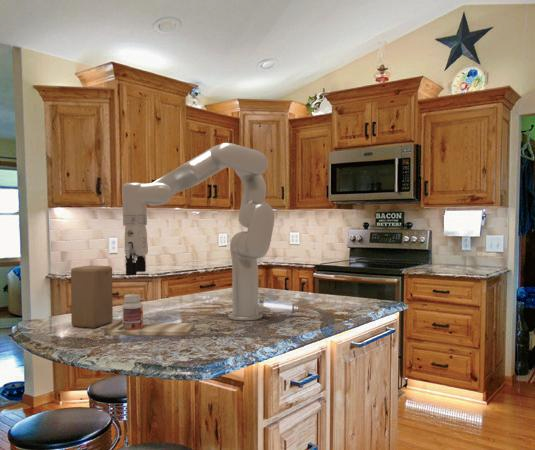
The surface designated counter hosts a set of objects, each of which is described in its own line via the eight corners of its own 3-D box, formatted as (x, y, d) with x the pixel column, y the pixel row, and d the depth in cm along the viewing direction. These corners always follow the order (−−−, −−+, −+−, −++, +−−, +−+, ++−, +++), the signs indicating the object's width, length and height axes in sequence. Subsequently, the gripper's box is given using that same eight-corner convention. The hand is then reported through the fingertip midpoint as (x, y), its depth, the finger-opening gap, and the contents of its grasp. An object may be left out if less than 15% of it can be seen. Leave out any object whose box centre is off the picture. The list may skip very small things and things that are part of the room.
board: (194, 326, 153) (194, 319, 153) (187, 335, 141) (187, 327, 141) (118, 326, 154) (117, 319, 154) (104, 335, 142) (104, 327, 142)
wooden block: (113, 322, 161) (113, 265, 161) (94, 328, 151) (93, 268, 151) (90, 320, 164) (90, 265, 164) (70, 326, 154) (69, 267, 154)
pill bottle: (145, 330, 147) (145, 295, 147) (126, 333, 144) (126, 297, 144) (139, 327, 152) (138, 293, 152) (120, 329, 149) (120, 295, 149)
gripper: (138, 220, 140) (139, 276, 140) (153, 220, 157) (155, 270, 157) (113, 221, 140) (115, 277, 140) (132, 221, 157) (133, 270, 157)
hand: (136, 273), depth 149 cm, fingers open, 9 cm apart
